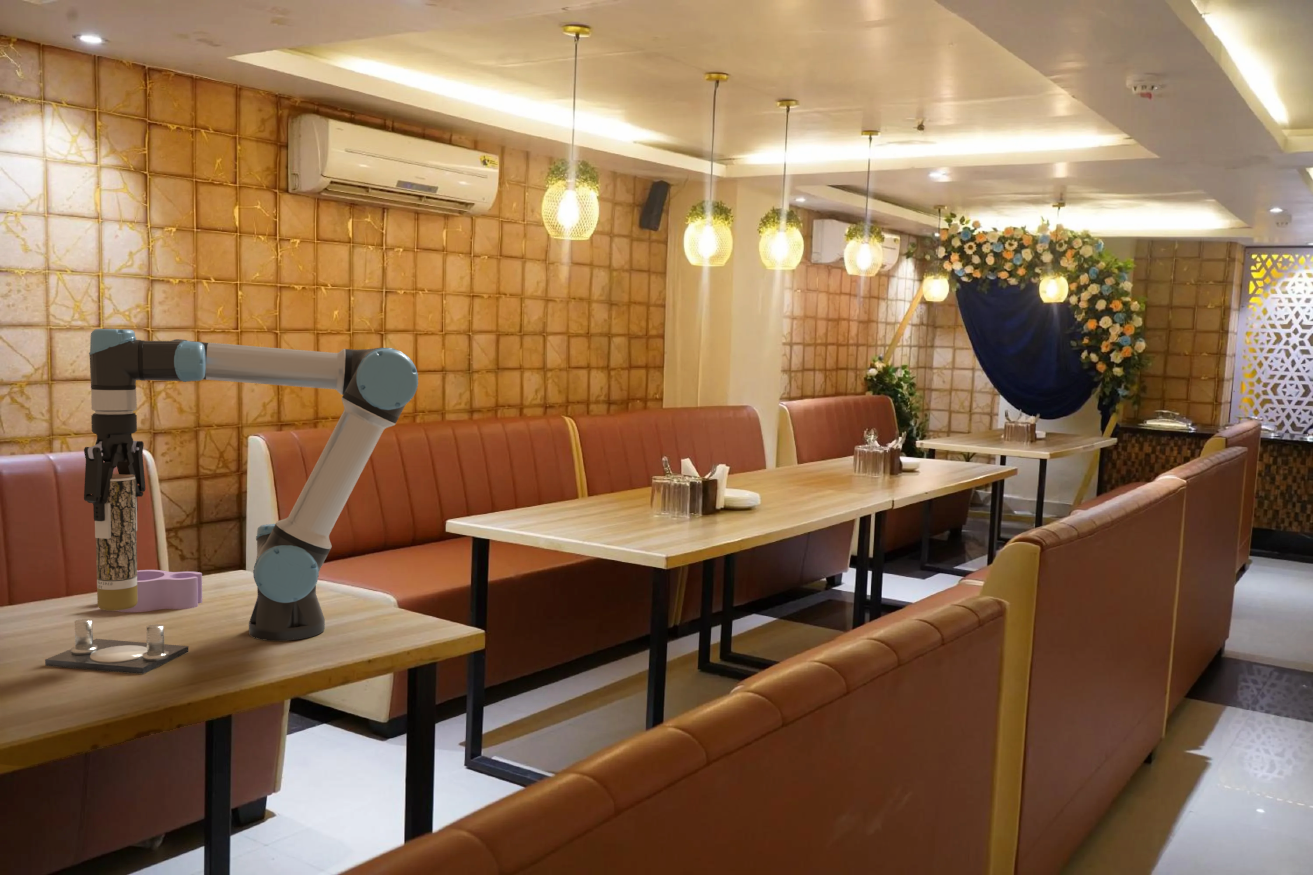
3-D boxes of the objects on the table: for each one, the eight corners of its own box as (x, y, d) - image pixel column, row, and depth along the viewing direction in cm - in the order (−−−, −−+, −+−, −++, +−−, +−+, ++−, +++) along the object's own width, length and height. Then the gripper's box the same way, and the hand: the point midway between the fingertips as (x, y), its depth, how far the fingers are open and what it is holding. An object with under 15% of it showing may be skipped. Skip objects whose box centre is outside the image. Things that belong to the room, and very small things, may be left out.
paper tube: (121, 613, 197) (118, 479, 194) (89, 610, 198) (86, 477, 196) (145, 604, 203) (143, 474, 201) (114, 601, 205) (111, 472, 202)
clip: (207, 598, 250) (206, 569, 249) (192, 611, 238) (192, 581, 237) (116, 599, 247) (116, 570, 246) (97, 613, 235) (96, 582, 234)
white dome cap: (160, 648, 206) (160, 647, 206) (126, 664, 196) (126, 662, 196) (113, 645, 207) (113, 643, 207) (77, 660, 198) (77, 658, 198)
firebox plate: (188, 652, 208) (188, 646, 208) (142, 674, 194) (142, 667, 194) (96, 644, 211) (96, 638, 211) (45, 665, 198) (45, 659, 198)
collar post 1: (102, 649, 205) (101, 618, 204) (86, 655, 200) (85, 624, 200) (82, 647, 205) (81, 617, 205) (65, 653, 201) (65, 622, 200)
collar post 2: (173, 654, 202) (172, 624, 202) (159, 661, 198) (158, 630, 197) (152, 653, 203) (151, 622, 202) (137, 659, 199) (137, 628, 198)
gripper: (130, 408, 207) (132, 524, 210) (57, 415, 188) (61, 542, 190) (165, 409, 206) (167, 526, 208) (95, 416, 187) (98, 545, 189)
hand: (116, 534), depth 199 cm, fingers closed on paper tube, 7 cm apart
